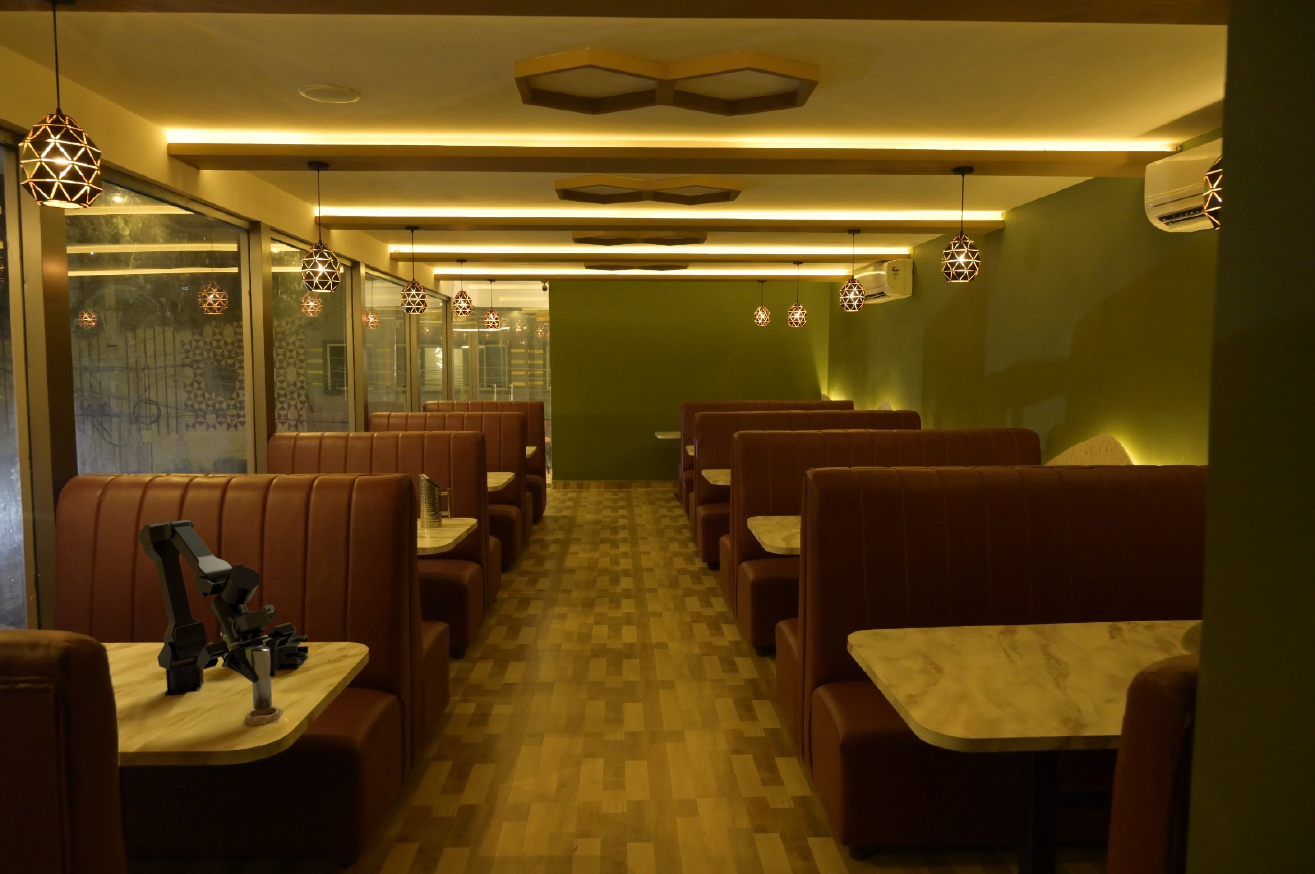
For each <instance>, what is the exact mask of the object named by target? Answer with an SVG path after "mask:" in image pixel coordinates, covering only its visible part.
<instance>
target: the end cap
mask: <svg viewBox="0 0 1315 874" xmlns="http://www.w3.org/2000/svg"><path fill="white" fill-rule="evenodd" d="M308 641H309V636H308V635H307V634H298V635H296V634H295V635H294V636H293V638H292V639H291V641H290V642H289V644H288V645H286V646H285V647H281V648H278V649H275V670H277V671H280V670H282V671H295V670H296V671H297V670H298V669H299V668H301V667H302V665H304V663H305V662H306V661H307V660H308V659H307V658H309V656H308V653H309V645H305V646H299V645H300V644H301V643H306V642H307V643H308ZM305 660H306V661H305ZM304 661H305V662H304Z"/></svg>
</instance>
